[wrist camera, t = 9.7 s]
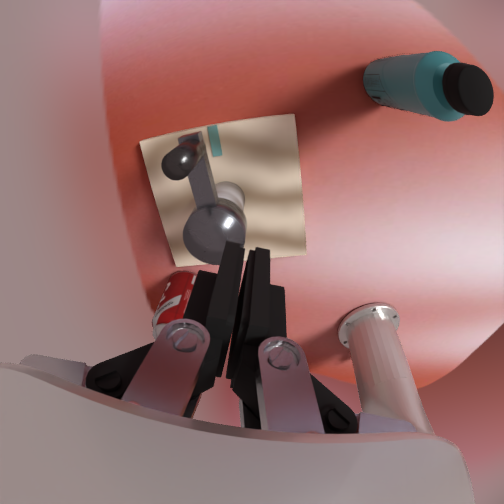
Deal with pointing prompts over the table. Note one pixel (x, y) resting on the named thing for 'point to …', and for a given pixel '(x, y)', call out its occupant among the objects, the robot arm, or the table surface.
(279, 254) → the square base with post
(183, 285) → the soda can
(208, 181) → the crank handle
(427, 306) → the table surface
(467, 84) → the beverage bottle
